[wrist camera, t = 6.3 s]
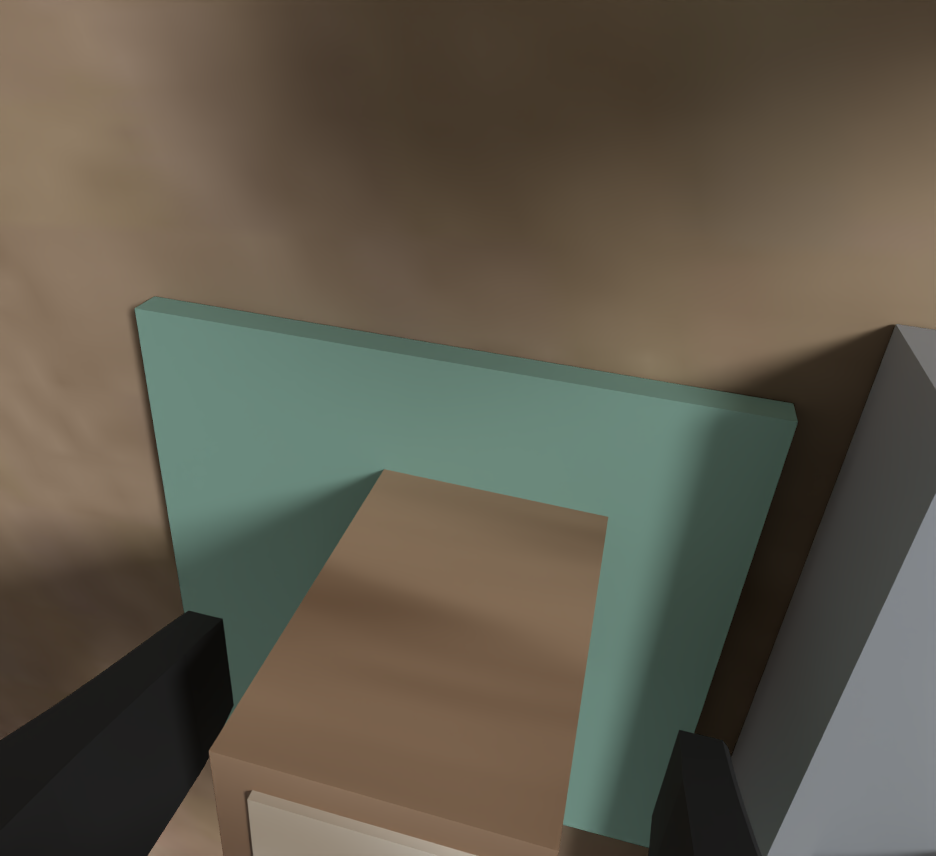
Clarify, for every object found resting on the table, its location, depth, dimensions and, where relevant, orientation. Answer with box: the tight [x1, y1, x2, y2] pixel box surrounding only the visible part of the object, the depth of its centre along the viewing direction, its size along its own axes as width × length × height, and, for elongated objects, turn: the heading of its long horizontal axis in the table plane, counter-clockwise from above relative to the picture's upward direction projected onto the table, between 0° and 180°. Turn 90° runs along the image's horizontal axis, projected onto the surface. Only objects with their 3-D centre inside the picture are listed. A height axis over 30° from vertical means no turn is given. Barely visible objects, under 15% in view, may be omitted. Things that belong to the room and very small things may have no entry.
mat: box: [135, 297, 798, 848], centre depth 16 cm, size 11×11×1 cm
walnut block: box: [209, 469, 608, 856], centre depth 12 cm, size 4×4×6 cm
